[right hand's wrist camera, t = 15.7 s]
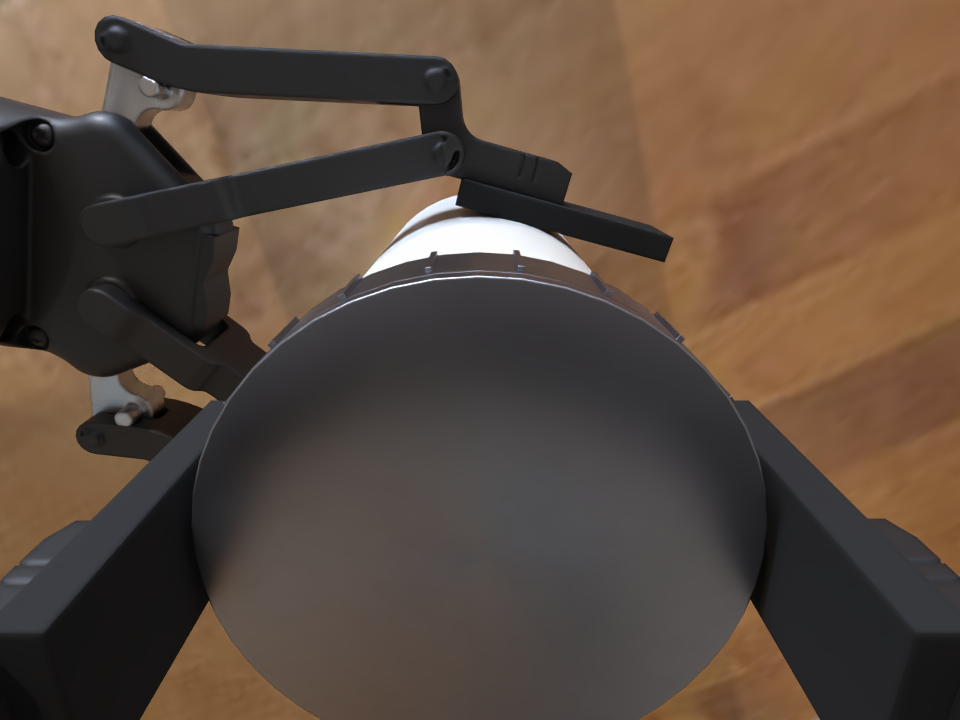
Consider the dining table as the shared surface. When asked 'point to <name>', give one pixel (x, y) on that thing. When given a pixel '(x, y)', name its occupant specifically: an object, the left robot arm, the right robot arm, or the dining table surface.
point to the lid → (479, 500)
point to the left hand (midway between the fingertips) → (607, 375)
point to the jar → (473, 238)
